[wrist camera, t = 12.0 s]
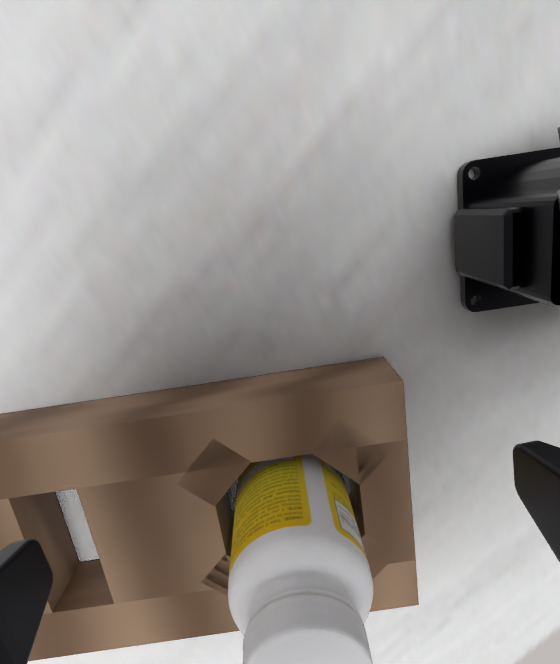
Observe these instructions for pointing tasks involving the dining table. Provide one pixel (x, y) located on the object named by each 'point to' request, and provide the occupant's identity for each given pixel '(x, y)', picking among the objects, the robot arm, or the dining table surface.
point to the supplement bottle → (298, 566)
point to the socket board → (195, 495)
